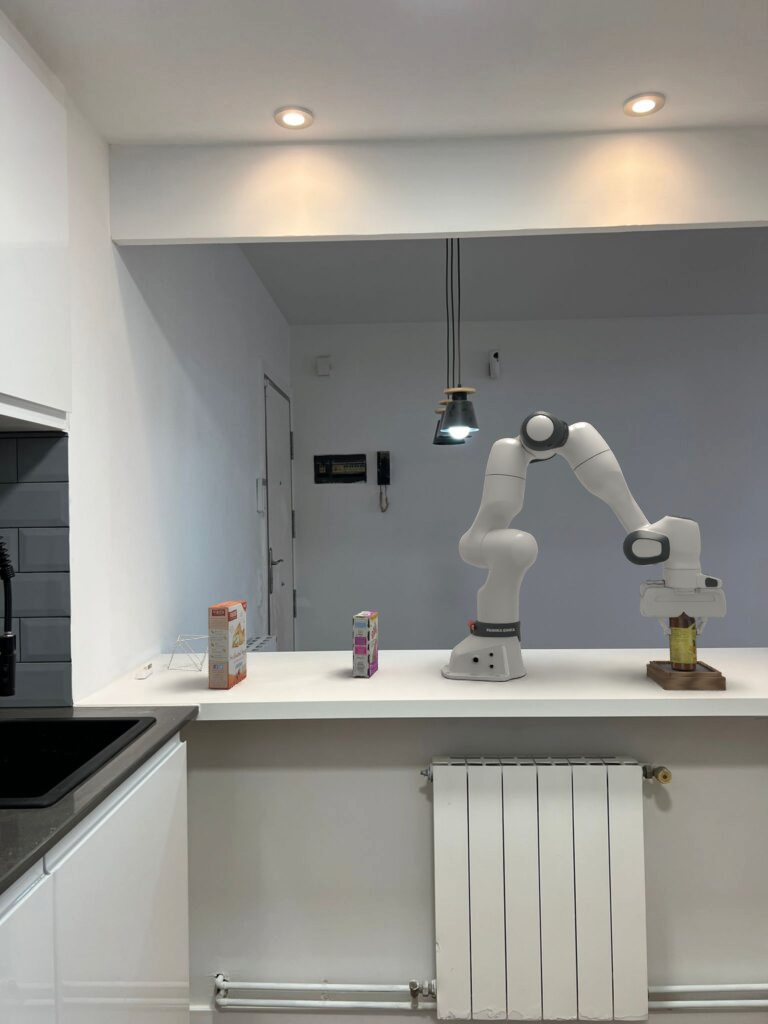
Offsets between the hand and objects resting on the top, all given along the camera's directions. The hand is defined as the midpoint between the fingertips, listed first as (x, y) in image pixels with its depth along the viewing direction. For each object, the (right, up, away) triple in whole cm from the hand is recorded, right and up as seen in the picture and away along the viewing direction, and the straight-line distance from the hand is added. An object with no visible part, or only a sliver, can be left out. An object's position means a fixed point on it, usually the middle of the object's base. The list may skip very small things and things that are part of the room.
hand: (682, 635), depth 172 cm
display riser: (0, -12, 0) cm, 12 cm away
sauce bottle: (0, -9, 0) cm, 9 cm away
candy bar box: (-80, -14, +16) cm, 82 cm away
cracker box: (-115, -14, +8) cm, 116 cm away
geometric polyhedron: (-131, -15, +27) cm, 134 cm away
